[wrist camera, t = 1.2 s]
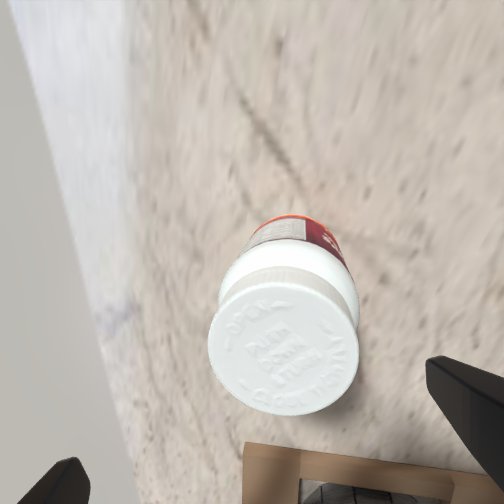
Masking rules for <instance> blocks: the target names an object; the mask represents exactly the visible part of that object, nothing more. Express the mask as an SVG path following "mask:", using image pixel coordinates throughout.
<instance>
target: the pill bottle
mask: <svg viewBox="0 0 504 504" xmlns="http://www.w3.org/2000/svg"><path fill="white" fill-rule="evenodd" d="M359 315H360V305H359V298H358V294H357V290H356V287H355V284H354V281H353V279H352V277H351V275H350V273H349V271H348V268H347V266H346V264H345V261H344V258H343V256H342V253H341V251H340V249H339V247H338V244H337V242H336V240H335V238H334V237H333V235H332V234H331V232H330V231H329V230H328V229H327V228H326V227H325V226H324V225H323V224H321V223H320V222H318V221H317V220H315V219H313V218H310V217H307V216H304V215H298V214H287V215H281V216H277V217H275V218H272V219H270V220H268V221H267V222H265V223H264V224H262V225H261V226H260V227H259V228H258V229H257V230H256V231H255V232H254V234H253V235H252V236H251V238H250V240H249V241H248V243H247V244H246V245H245V247H244V248H243V250H242V251H241V253H240V254H239V256H238V257H237V259H236V260H235V261H234V263H233V264H232V265H231V267H230V268H229V270H228V272H227V273H226V275H225V277H224V280H223V282H222V285H221V288H220V291H219V296H218V310H217V312H216V314H215V316H214V318H213V321H212V323H211V326H210V330H209V334H208V355H209V359H210V363H211V366H212V368H213V371H214V373H215V375H216V376H217V378H218V380H219V381H220V383H221V384H222V385H223V386H224V388H225V389H226V390H227V391H228V392H229V393H230V394H231V395H232V396H234V397H235V398H236V399H238V400H239V401H241V402H242V403H244V404H245V405H247V406H249V407H251V408H254V409H256V410H258V411H261V412H264V413H268V414H272V415H279V416H299V415H305V414H309V413H314V412H316V411H319V410H321V409H324V408H326V407H327V406H329V405H331V404H332V403H333V402H335V401H336V400H337V399H339V398H340V397H341V396H342V395H343V394H344V393H345V392H346V391H347V389H348V388H349V386H350V385H351V383H352V381H353V379H354V377H355V375H356V372H357V368H358V363H359V343H358V338H357V334H356V330H357V327H358V323H359Z"/></svg>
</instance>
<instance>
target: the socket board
mask: <svg viewBox="0 0 504 504" xmlns="http://www.w3.org/2000/svg"><path fill="white" fill-rule="evenodd" d="M300 478H302V479H309V480H315V481H322V482H329V483H326V484H322V486H319V487H318V488H317V489H316V490H315V491H314V492H313V493H312V494H311V495H310V496H309V497H308V498H307V499H306V500H305V501H304V502H303V504H418V503H417V502H416V500H415V499H414V498H412V497H411V496H409V495H415V496H422V497H428V498H435V499H441V501H440V504H504V493H503V492H502V491H501V489H500V488H499V487H498V486H497V484H496V483H495V482H494V481H493V480H492V478H491V477H490V476H487V475H480V474H473V473H466V472H458V471H451V470H444V469H437V468H430V467H422V466H415V465H408V464H401V463H393V462H386V461H379V460H372V459H365V458H357V457H350V456H343V455H336V454H328V453H321V452H314V451H307V450H300V449H292V448H285V447H278V446H271V445H263V444H256V443H249V442H245V446H244V451H243V484H242V504H298V492H299V479H300Z"/></svg>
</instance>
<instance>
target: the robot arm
mask: <svg viewBox="0 0 504 504" xmlns="http://www.w3.org/2000/svg"><path fill="white" fill-rule="evenodd" d="M425 366H426V384H427V388H428V391H429V393H430V395H431V396H432V398H433V399H434V400H435V402H436V403H437V405H438V406H439V408H440V409H441V411H442V412H443V414H444V415H445V417H446V418H447V420H448V421H449V422H450V424H451V425H452V427H453V428H454V430H455V431H456V433H457V434H458V436H459V437H460V439H461V440H462V441H463V443H464V444H465V446H466V447H467V448H468V450H469V451H470V452H471V454H472V455H473V456H474V458H475V459H476V460H477V461H478V463H479V464H480V465H481V466H482V467H483V469H484V470H485V471H486V472H487V474H488V475H489V476H490V477H491V478H492V480H493V481H494V482H495V483H496V484H497V486H498V487H499V488H500V489H501V491H502V492H503V493H504V378H503V377H500V376H498V375H495V374H492V373H489V372H487V371H484V370H481V369H478V368H476V367H473V366H470V365H468V364H465V363H462V362H459V361H457V360H454V359H451V358H448V357H446V356H436V357H433V358H429V359H427V360H426V364H425ZM89 496H90V480H89V478H88V476H87V474H86V472H85V470H84V468H83V466H82V464H81V462H80V460H79V459H78V458H77V457H71V458H68V459H64V460H61V461H58V462H57V463H56V464H55V465H54V466H53V467H52V468H51V469H50V470H49V471H48V472H47V473H46V474H45V475H44V476H43V477H42V478H41V479H40V480H39V481H38V482H37V483H36V484H35V485H34V486H33V488H31V490H30V491H29V492H28V493H27V494H26V495H25V496H24V497H23V498H22V499H21V500H20V501H19V502H18V503H17V504H88V501H89Z"/></svg>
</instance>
